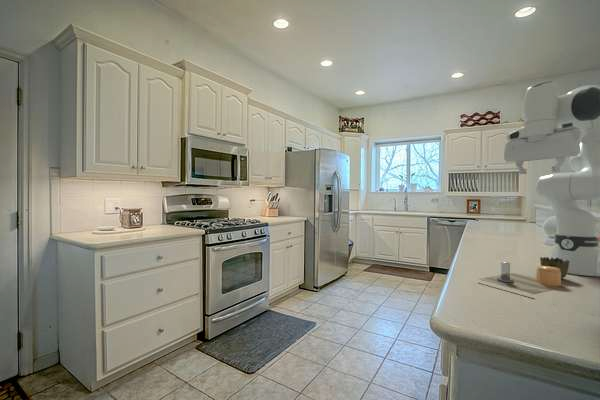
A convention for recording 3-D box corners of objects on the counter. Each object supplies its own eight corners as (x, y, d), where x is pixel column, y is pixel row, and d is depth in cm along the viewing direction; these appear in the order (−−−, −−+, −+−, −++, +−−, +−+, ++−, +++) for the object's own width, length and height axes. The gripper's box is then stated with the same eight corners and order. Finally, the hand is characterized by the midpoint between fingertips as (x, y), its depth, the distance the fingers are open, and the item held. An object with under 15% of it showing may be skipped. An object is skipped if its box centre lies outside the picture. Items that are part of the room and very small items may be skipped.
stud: (502, 278, 95) (502, 260, 95) (516, 282, 91) (517, 263, 91) (493, 279, 93) (494, 261, 93) (508, 283, 89) (508, 264, 89)
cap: (543, 280, 94) (543, 265, 94) (563, 285, 89) (564, 269, 89) (533, 282, 91) (533, 266, 91) (554, 287, 87) (554, 270, 86)
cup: (575, 285, 93) (575, 261, 93) (552, 285, 93) (552, 261, 93) (555, 279, 101) (555, 256, 101) (534, 279, 101) (534, 256, 101)
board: (514, 277, 103) (514, 273, 103) (571, 290, 88) (571, 285, 88) (477, 283, 94) (477, 278, 94) (533, 299, 80) (534, 293, 80)
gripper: (585, 126, 87) (584, 171, 87) (512, 138, 106) (511, 175, 106) (574, 123, 85) (573, 170, 85) (501, 136, 103) (500, 174, 103)
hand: (538, 173), depth 95 cm, fingers open, 8 cm apart
